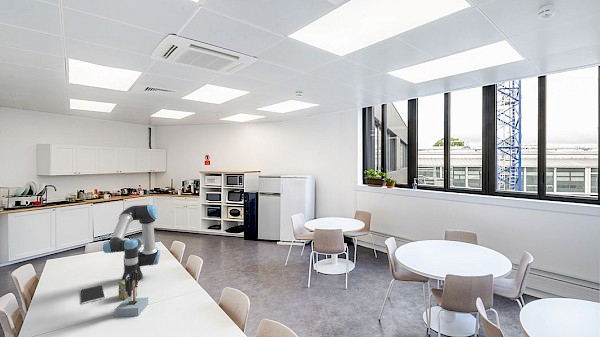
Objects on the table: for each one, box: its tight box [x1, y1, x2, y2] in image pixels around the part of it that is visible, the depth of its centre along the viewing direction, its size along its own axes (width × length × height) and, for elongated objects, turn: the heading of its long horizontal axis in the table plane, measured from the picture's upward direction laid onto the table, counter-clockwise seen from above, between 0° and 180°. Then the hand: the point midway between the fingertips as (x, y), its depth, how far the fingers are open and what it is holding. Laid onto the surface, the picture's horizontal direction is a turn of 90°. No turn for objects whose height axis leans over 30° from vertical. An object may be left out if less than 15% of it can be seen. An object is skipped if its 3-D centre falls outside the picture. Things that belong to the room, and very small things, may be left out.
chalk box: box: [118, 279, 138, 302], centre depth 204 cm, size 9×9×15 cm
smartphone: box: [80, 284, 106, 305], centre depth 208 cm, size 13×27×2 cm, turn 39°
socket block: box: [114, 297, 149, 318], centre depth 184 cm, size 14×14×5 cm
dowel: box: [129, 280, 135, 305], centre depth 184 cm, size 4×4×16 cm
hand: (132, 299), depth 184 cm, fingers closed on dowel, 3 cm apart
